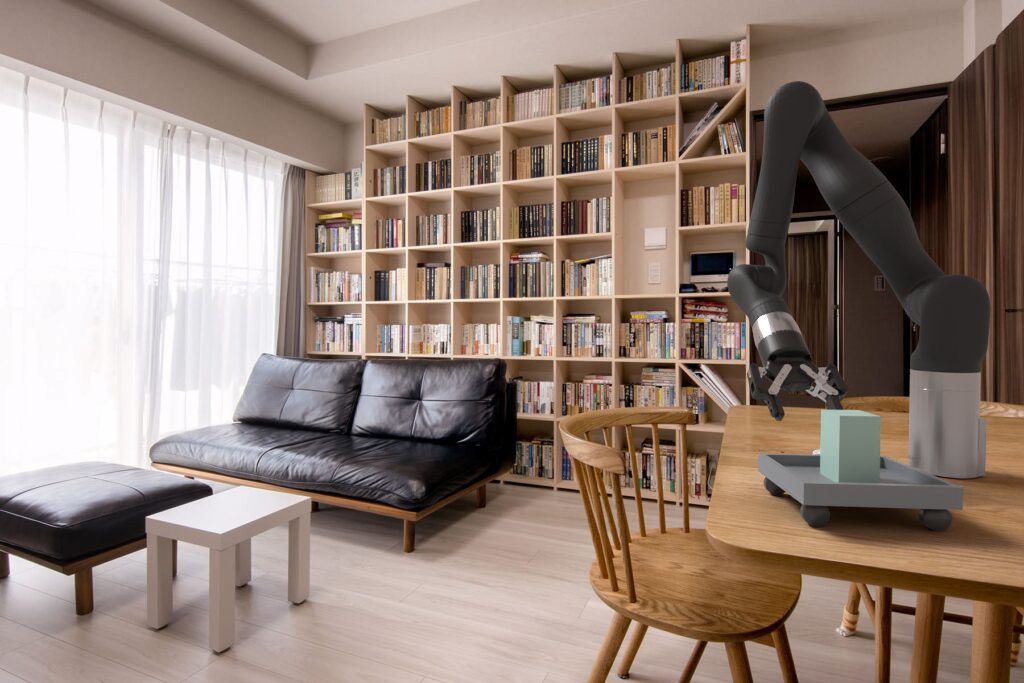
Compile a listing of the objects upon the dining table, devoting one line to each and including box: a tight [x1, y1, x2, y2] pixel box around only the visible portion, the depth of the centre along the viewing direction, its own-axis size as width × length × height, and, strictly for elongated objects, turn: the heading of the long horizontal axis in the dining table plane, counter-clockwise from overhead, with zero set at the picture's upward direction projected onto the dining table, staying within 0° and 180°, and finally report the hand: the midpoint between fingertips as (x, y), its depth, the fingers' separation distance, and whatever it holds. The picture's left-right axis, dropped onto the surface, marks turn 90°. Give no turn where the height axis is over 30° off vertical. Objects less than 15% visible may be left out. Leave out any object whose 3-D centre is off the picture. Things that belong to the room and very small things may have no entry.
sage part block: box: [819, 409, 882, 483], centre depth 70 cm, size 5×5×9 cm
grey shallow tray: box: [757, 452, 964, 532], centre depth 70 cm, size 18×15×6 cm
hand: (809, 418), depth 81 cm, fingers open, 8 cm apart
